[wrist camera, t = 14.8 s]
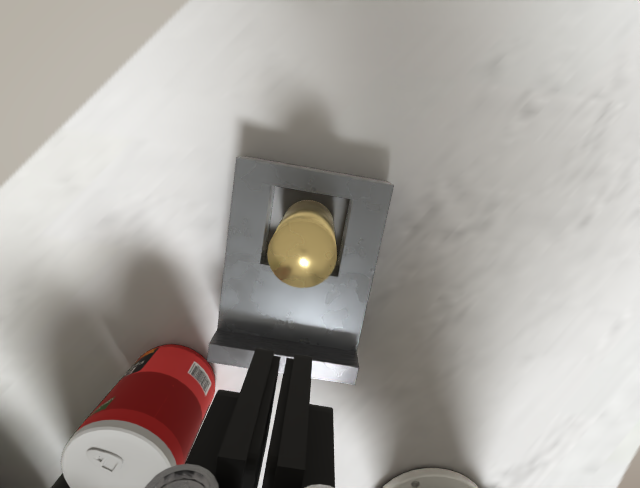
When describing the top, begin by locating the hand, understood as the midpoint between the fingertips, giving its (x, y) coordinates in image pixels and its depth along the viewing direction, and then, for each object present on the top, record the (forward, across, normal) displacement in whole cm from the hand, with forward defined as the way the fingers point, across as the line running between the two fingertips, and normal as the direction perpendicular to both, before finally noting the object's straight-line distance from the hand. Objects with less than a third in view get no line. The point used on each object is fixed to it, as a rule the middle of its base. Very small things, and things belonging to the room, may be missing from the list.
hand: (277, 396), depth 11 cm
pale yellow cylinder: (+22, 0, 0) cm, 22 cm away
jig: (+22, 0, +3) cm, 22 cm away
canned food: (+23, +10, +17) cm, 30 cm away
